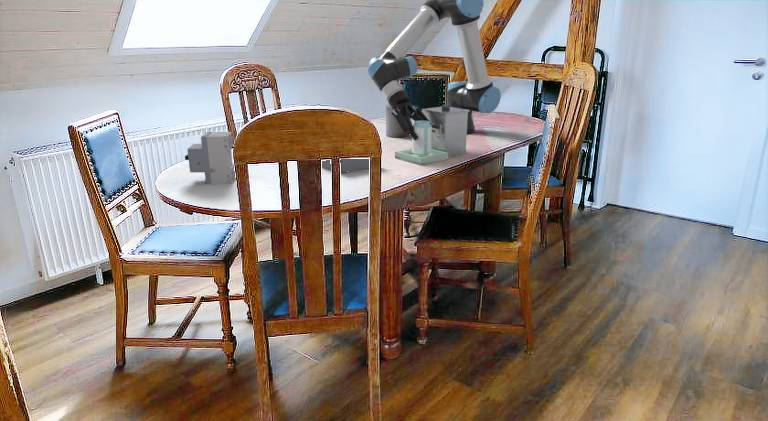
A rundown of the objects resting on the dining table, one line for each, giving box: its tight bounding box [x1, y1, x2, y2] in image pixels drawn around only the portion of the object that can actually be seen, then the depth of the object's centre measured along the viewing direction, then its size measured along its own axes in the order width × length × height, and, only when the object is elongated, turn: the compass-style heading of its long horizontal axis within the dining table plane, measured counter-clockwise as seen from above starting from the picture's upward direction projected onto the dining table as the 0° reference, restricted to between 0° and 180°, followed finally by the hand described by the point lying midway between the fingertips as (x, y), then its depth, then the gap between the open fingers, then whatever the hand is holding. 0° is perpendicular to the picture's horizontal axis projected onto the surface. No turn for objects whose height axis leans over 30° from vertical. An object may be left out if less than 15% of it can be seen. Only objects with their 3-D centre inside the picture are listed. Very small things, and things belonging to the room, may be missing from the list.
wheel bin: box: [321, 159, 370, 174], centre depth 191 cm, size 16×14×6 cm
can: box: [411, 121, 432, 155], centre depth 200 cm, size 7×7×12 cm
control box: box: [421, 104, 470, 158], centre depth 210 cm, size 13×13×18 cm
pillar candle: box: [385, 103, 408, 138], centre depth 243 cm, size 10×10×15 cm
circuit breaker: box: [184, 131, 236, 185], centre depth 171 cm, size 8×14×15 cm, turn 95°
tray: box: [394, 148, 449, 166], centre depth 202 cm, size 14×14×2 cm
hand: (429, 144), depth 199 cm, fingers closed on can, 7 cm apart
